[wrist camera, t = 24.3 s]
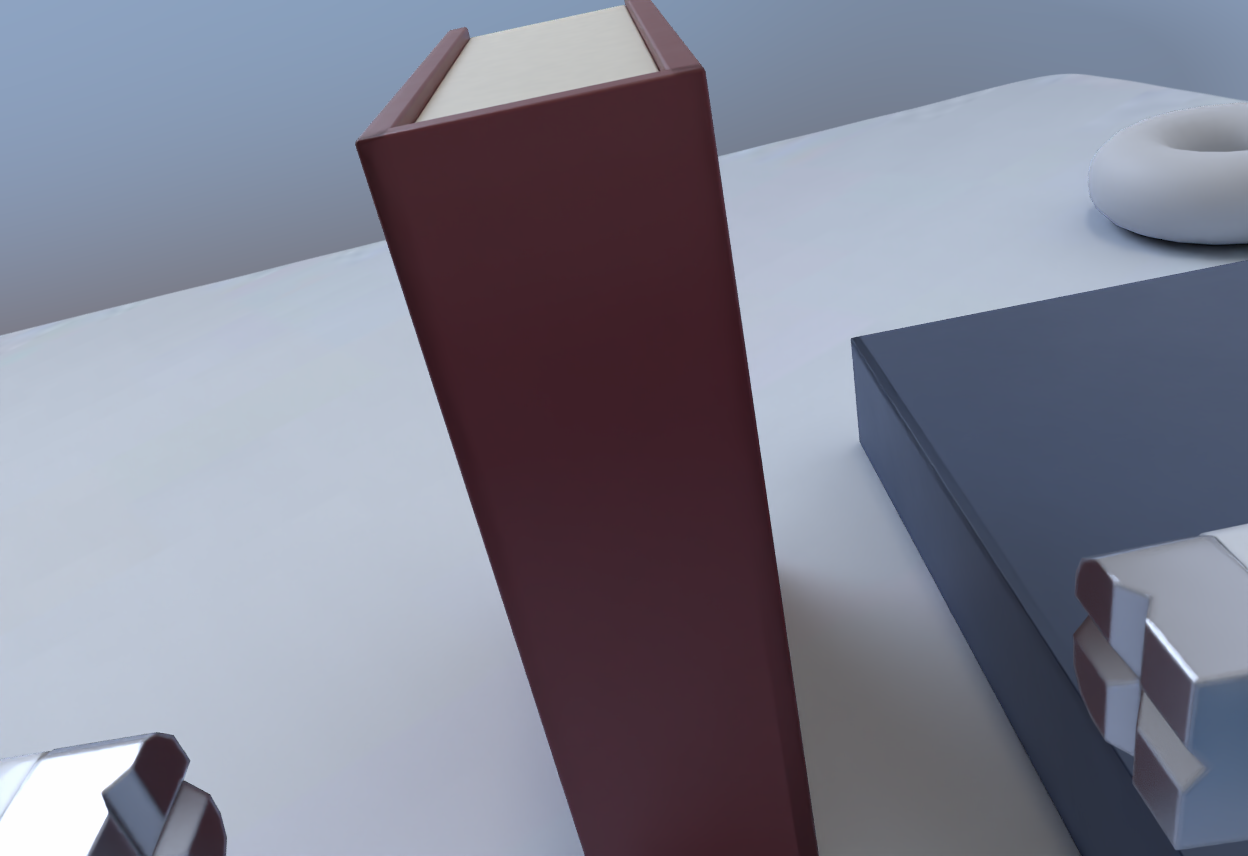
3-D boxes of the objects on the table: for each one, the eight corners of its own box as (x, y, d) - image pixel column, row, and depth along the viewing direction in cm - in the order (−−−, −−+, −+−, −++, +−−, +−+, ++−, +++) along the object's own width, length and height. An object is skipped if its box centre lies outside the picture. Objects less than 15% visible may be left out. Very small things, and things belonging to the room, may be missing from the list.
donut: (1151, 167, 45) (1038, 238, 40) (1158, 91, 44) (1040, 154, 39) (1416, 185, 38) (1319, 274, 33) (1435, 94, 37) (1336, 173, 31)
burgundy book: (602, 914, 18) (353, 141, 11) (590, 575, 26) (447, 30, 20) (821, 876, 17) (705, 66, 11) (736, 547, 26) (642, -12, 19)
